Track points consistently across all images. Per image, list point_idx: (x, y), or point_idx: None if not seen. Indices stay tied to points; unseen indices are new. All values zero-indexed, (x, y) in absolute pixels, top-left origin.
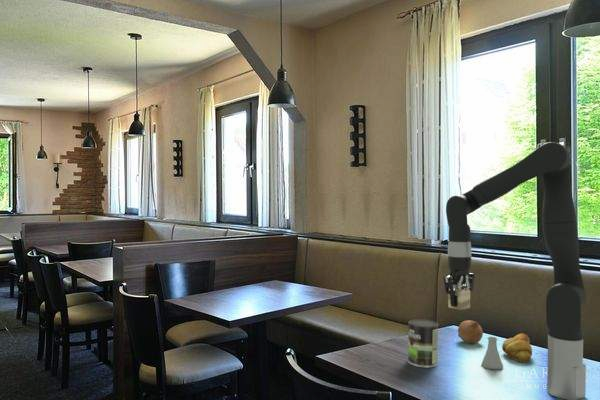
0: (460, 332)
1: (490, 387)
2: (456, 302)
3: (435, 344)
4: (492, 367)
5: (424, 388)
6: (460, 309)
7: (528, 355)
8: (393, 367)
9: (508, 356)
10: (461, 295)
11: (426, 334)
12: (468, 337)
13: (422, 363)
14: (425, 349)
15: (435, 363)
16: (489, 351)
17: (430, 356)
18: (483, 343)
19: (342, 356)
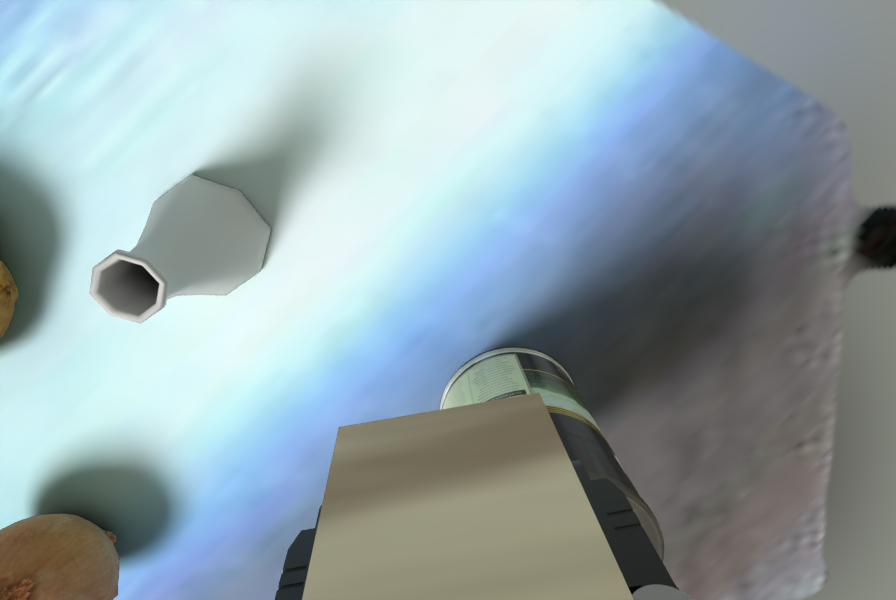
0: (109, 592)
1: (451, 3)
2: (592, 499)
3: None
4: (240, 201)
5: (749, 154)
6: (541, 400)
7: None
8: (667, 409)
9: (17, 293)
10: (593, 551)
11: (598, 454)
12: (94, 541)
13: (560, 371)
14: (572, 402)
15: (490, 358)
16: (205, 253)
17: (534, 374)
18: (9, 508)
19: (747, 571)
